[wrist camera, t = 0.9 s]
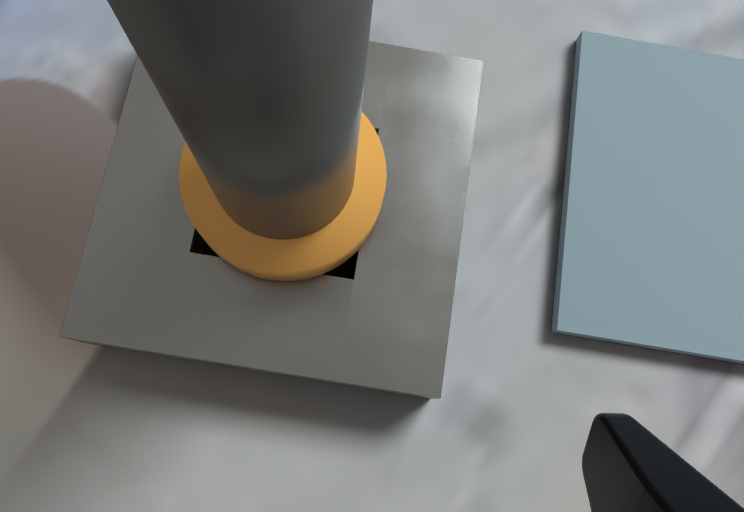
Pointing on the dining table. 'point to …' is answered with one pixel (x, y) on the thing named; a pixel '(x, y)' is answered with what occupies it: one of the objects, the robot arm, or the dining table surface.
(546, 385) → the dining table surface
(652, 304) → the mat
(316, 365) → the socket block
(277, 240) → the plug
